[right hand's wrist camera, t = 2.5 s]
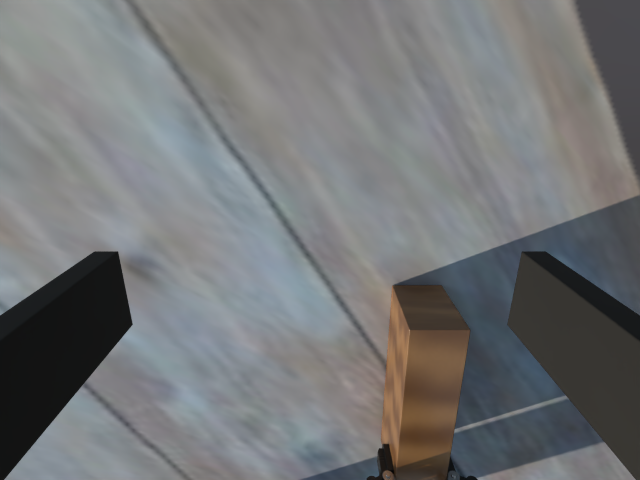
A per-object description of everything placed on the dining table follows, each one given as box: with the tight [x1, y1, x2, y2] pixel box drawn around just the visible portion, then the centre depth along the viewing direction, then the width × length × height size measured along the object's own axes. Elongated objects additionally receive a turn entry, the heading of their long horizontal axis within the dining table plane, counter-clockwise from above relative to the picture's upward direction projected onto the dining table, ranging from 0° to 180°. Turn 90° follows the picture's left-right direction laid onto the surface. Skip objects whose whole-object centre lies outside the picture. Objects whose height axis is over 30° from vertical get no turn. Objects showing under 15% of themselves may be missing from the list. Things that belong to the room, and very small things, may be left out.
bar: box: [381, 285, 470, 480], centre depth 42 cm, size 23×6×9 cm, turn 0°
